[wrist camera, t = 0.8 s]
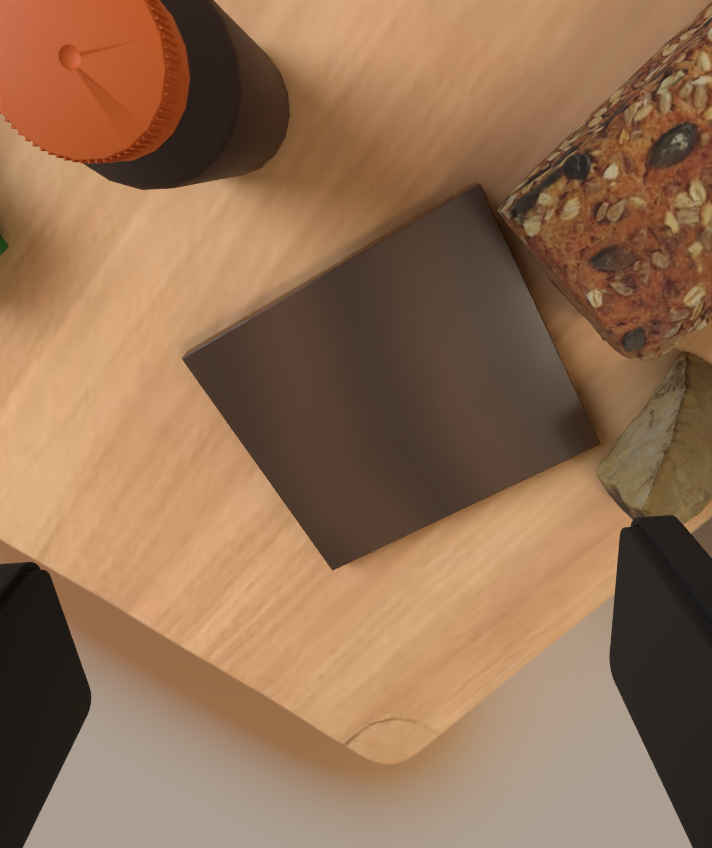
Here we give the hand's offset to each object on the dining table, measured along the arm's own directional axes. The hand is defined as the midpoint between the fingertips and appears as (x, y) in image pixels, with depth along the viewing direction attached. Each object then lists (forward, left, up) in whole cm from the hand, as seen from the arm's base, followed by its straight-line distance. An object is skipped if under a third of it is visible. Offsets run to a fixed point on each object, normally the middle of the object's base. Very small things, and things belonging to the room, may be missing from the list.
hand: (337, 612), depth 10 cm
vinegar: (+1, -11, -30) cm, 32 cm away
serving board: (+1, +8, -30) cm, 31 cm away
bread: (-19, +3, -30) cm, 35 cm away
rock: (-12, +18, -30) cm, 37 cm away
